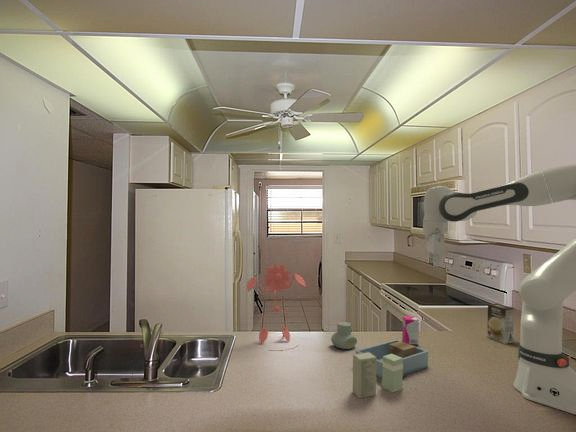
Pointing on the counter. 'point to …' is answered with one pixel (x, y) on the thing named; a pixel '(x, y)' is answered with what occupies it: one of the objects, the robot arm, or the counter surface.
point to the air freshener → (344, 336)
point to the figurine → (275, 281)
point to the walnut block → (402, 349)
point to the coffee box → (500, 323)
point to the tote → (409, 362)
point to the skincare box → (364, 374)
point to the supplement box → (410, 330)
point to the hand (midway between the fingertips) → (434, 264)
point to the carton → (392, 372)
